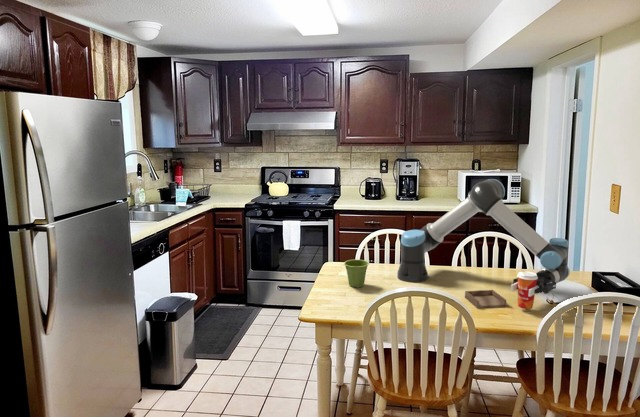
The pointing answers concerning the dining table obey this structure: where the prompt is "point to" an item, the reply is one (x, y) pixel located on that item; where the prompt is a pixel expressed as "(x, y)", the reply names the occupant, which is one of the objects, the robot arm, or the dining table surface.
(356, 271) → the plant pot
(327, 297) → the dining table surface
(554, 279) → the robot arm
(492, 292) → the walnut bay
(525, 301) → the paper cup
